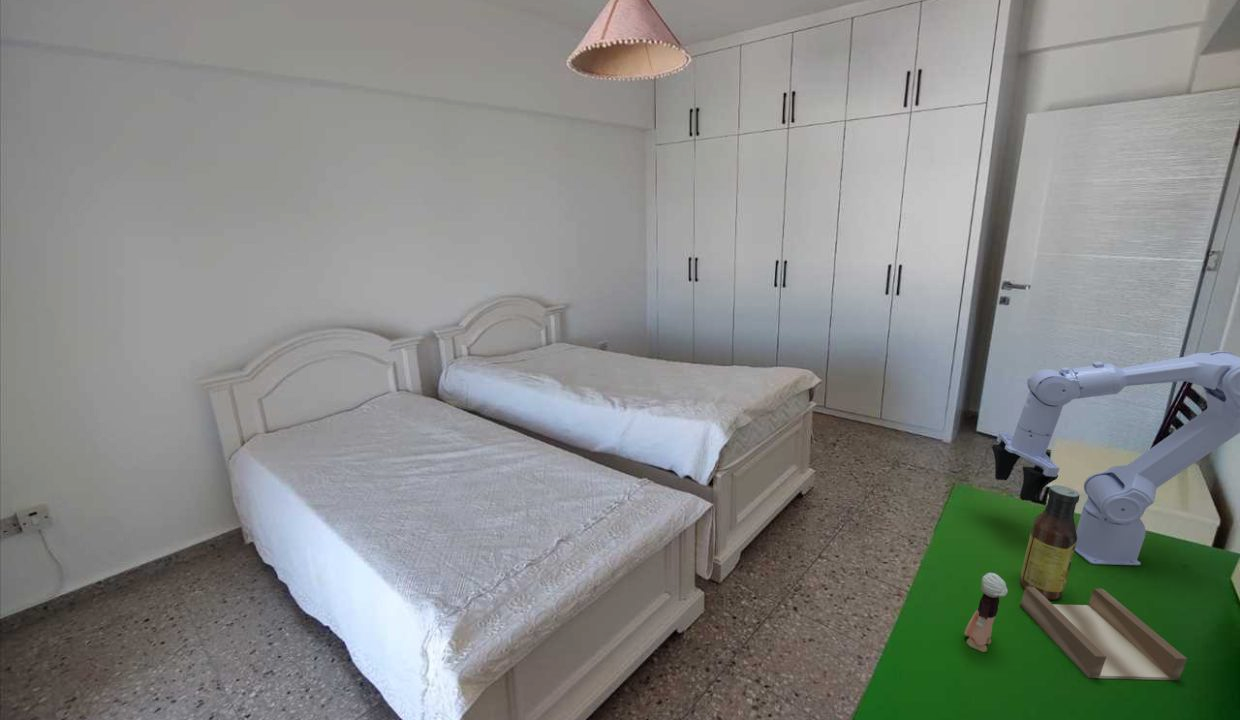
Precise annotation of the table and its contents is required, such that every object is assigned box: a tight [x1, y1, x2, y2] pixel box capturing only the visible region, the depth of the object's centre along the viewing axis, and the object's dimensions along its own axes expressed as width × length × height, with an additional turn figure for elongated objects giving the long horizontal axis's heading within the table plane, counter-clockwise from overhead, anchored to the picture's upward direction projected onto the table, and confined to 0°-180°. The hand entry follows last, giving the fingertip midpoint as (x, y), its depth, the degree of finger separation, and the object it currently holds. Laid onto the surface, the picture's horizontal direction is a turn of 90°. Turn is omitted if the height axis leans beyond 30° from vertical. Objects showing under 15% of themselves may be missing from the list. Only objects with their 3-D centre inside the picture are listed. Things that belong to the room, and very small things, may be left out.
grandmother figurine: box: [964, 572, 1009, 653], centre depth 83 cm, size 8×4×13 cm, turn 141°
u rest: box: [1019, 587, 1188, 681], centre depth 85 cm, size 13×14×4 cm
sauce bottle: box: [1020, 484, 1080, 600], centre depth 94 cm, size 7×6×20 cm
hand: (1013, 489), depth 110 cm, fingers open, 7 cm apart
